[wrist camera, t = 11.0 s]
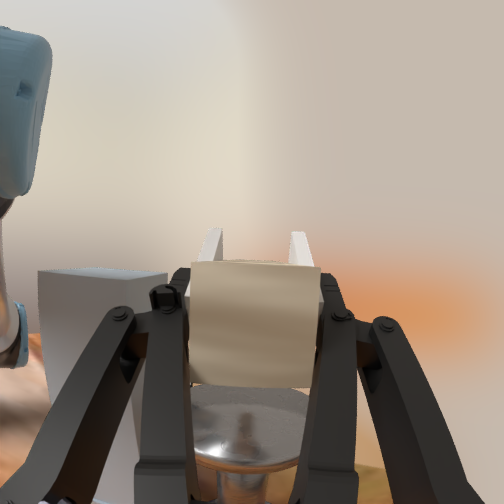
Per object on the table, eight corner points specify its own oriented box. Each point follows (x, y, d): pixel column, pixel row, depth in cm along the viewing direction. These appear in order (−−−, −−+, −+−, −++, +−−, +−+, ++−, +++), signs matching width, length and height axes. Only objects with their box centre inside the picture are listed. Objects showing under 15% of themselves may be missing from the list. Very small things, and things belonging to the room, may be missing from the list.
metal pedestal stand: (157, 519, 23) (136, 398, 23) (242, 483, 33) (248, 371, 33) (236, 590, 13) (241, 486, 13) (322, 528, 23) (355, 409, 23)
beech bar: (311, 387, 9) (320, 267, 9) (189, 382, 9) (191, 261, 9) (269, 293, 37) (271, 260, 37) (237, 291, 37) (239, 259, 37)
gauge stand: (170, 530, 21) (146, 282, 22) (68, 498, 21) (21, 269, 22) (188, 471, 34) (184, 273, 35) (104, 452, 34) (85, 266, 35)
